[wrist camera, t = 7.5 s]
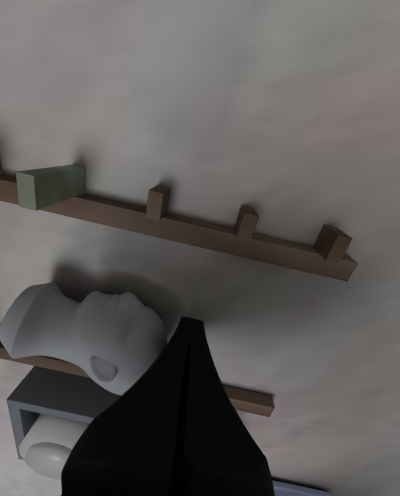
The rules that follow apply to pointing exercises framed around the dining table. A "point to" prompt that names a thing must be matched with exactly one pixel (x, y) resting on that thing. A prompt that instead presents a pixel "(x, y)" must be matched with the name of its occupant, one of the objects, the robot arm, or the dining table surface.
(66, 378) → the grey square tray
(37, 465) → the dome button
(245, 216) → the brown wooden frame
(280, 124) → the dining table surface
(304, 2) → the dining table surface
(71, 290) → the dining table surface
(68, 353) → the smooth white sculpture
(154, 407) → the robot arm
